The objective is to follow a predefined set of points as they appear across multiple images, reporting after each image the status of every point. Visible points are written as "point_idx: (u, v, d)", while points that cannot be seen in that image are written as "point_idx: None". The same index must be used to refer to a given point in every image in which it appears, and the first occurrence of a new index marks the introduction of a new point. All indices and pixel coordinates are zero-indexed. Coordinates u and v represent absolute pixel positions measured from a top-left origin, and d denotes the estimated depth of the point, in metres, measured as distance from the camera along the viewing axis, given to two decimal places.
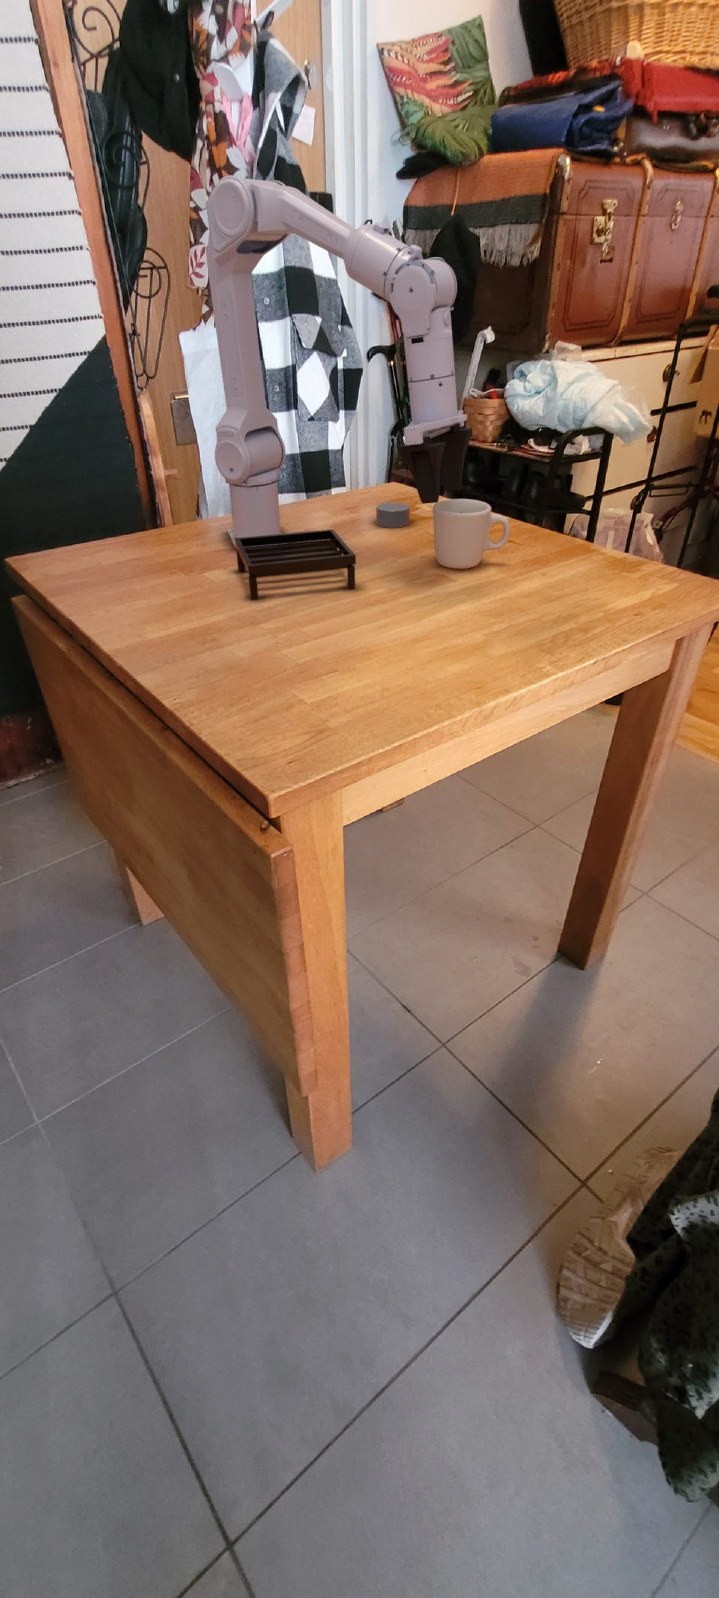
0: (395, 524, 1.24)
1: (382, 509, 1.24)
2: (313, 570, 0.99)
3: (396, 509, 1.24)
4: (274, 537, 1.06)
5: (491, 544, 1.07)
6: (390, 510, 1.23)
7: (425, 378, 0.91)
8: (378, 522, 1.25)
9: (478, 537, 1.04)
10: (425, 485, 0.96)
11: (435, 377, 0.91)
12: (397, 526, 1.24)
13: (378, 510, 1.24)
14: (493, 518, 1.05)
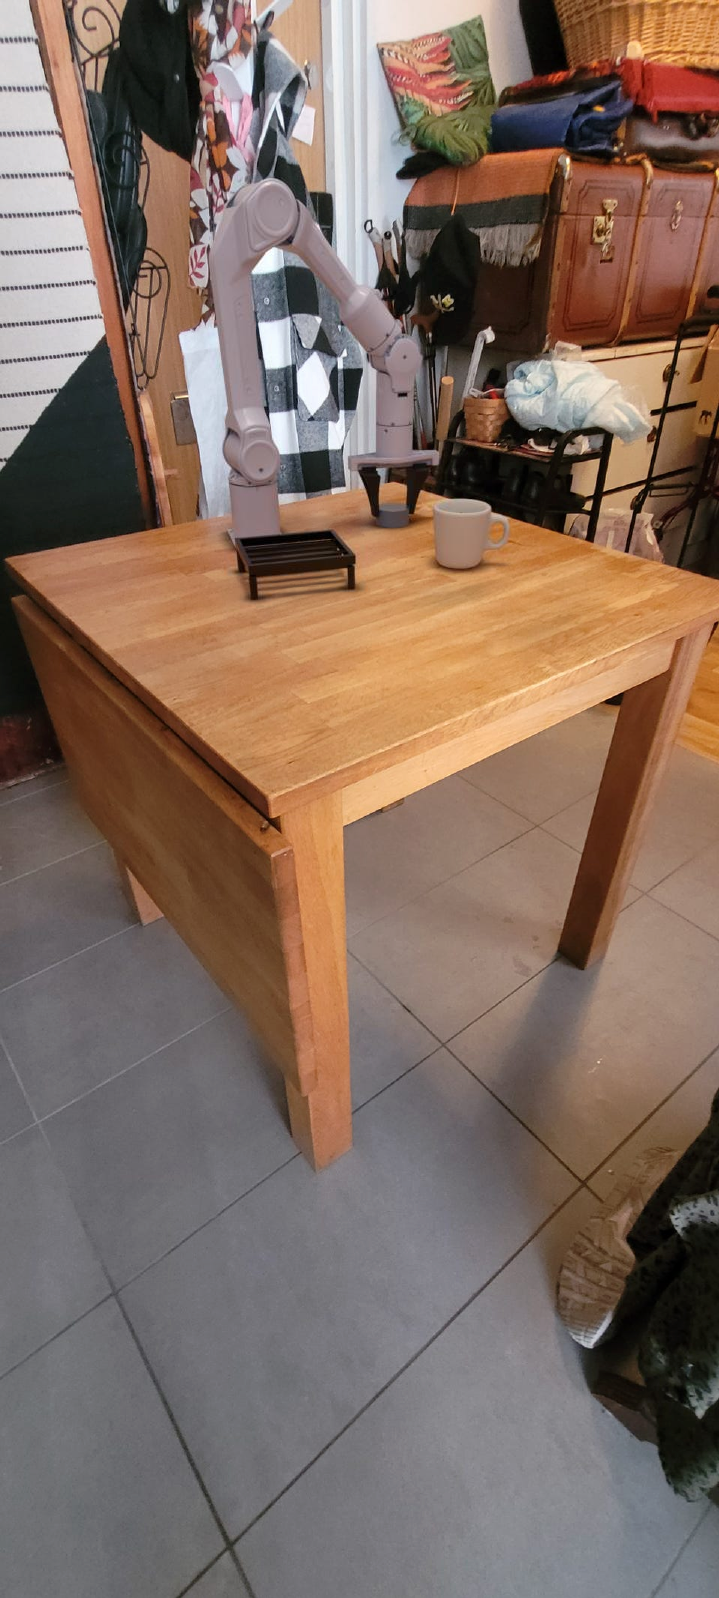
0: (395, 524, 1.24)
1: (382, 509, 1.24)
2: (313, 570, 0.99)
3: (396, 509, 1.24)
4: (274, 537, 1.06)
5: (491, 544, 1.07)
6: (390, 510, 1.23)
7: (406, 424, 1.16)
8: (378, 522, 1.25)
9: (478, 537, 1.04)
10: None
11: None
12: (397, 526, 1.24)
13: None
14: (493, 518, 1.05)
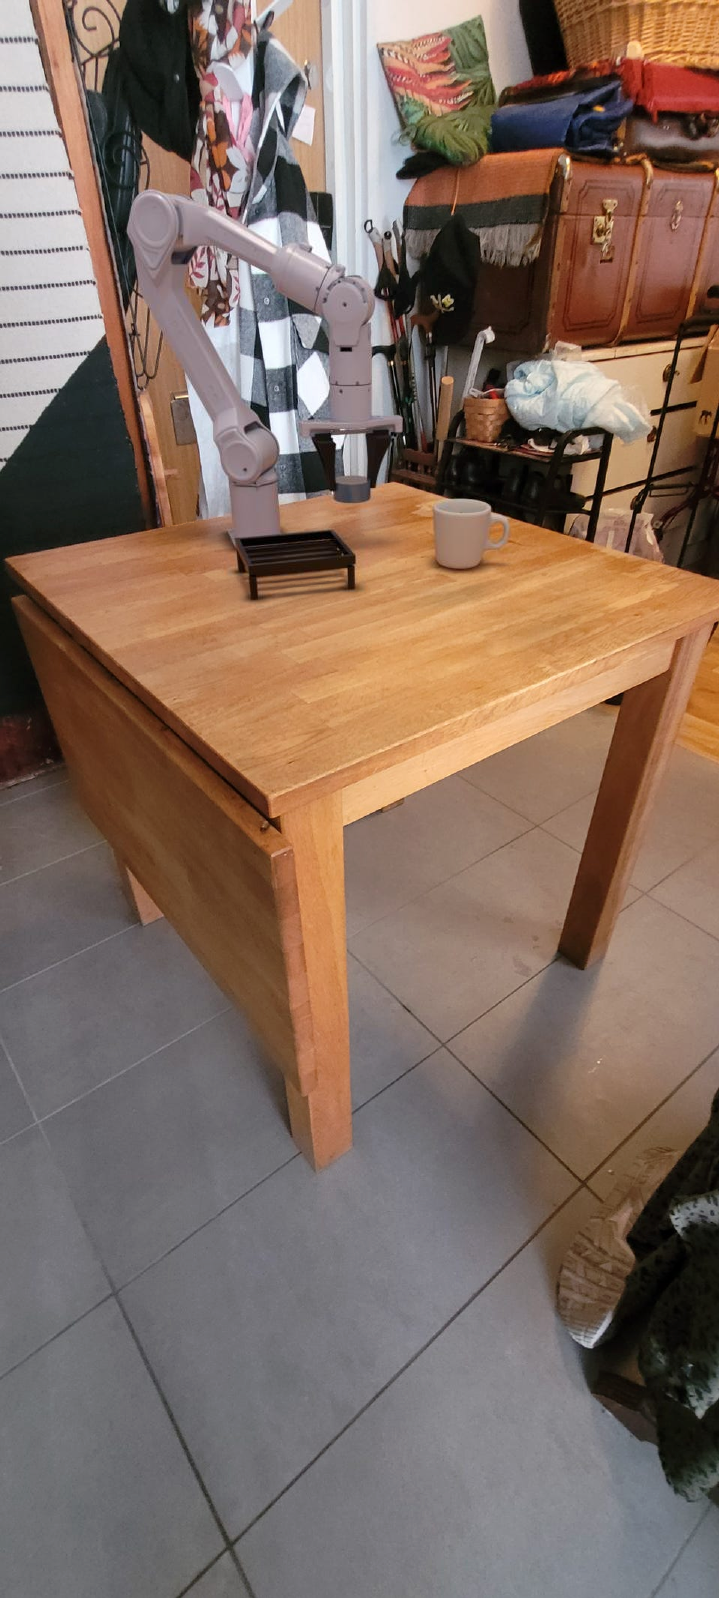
0: (354, 499, 1.10)
1: (339, 482, 1.10)
2: (313, 570, 0.99)
3: (355, 482, 1.10)
4: (274, 537, 1.06)
5: (491, 544, 1.07)
6: (348, 483, 1.09)
7: (351, 384, 1.02)
8: (335, 497, 1.11)
9: (478, 537, 1.04)
10: None
11: None
12: (356, 501, 1.10)
13: None
14: (493, 518, 1.05)
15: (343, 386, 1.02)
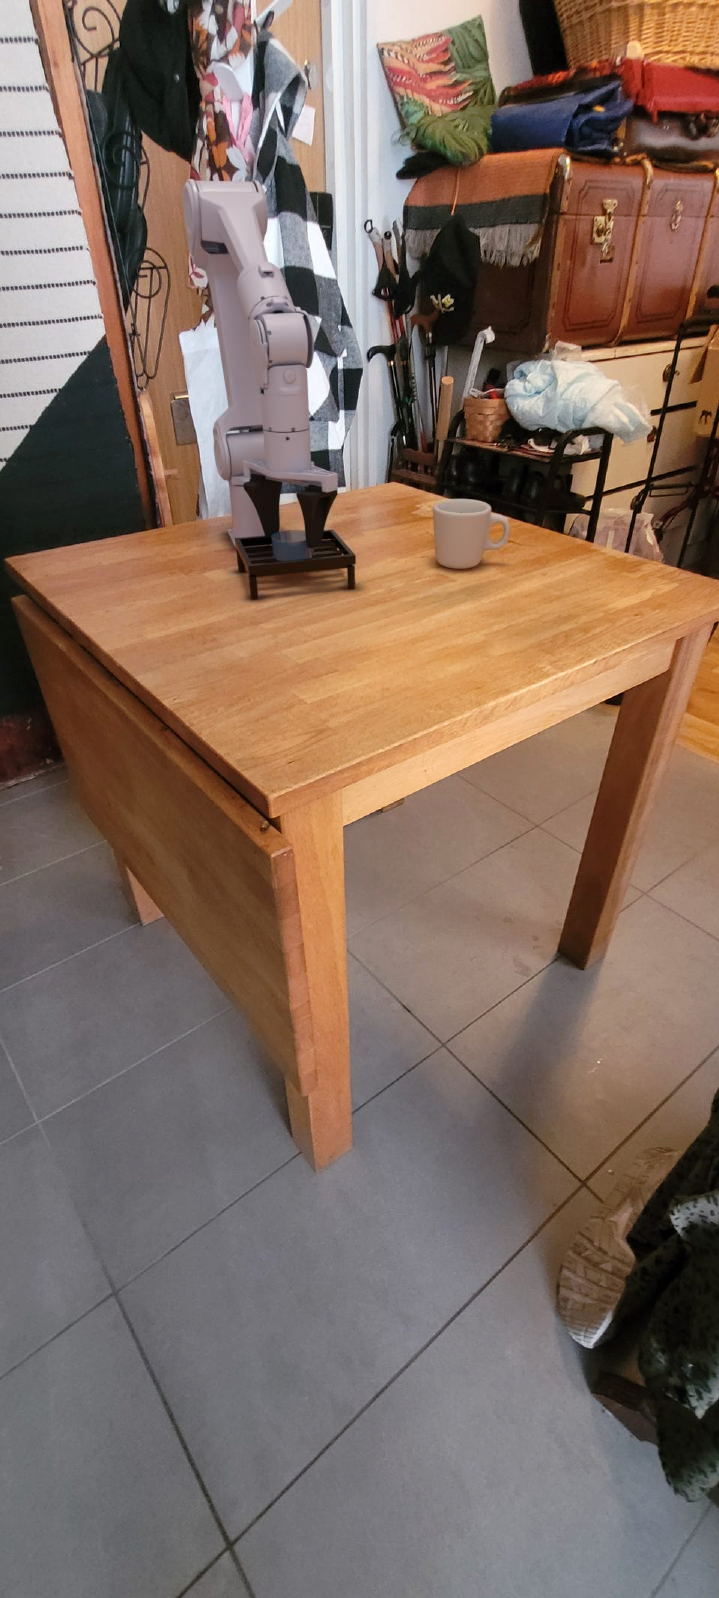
0: (276, 556, 1.01)
1: (275, 534, 1.02)
2: (313, 570, 0.99)
3: (283, 539, 1.00)
4: None
5: (491, 544, 1.07)
6: (275, 537, 1.01)
7: (265, 429, 0.92)
8: None
9: (478, 537, 1.04)
10: (315, 529, 0.98)
11: (308, 427, 0.94)
12: (278, 559, 1.01)
13: None
14: (493, 518, 1.05)
15: (263, 430, 0.93)
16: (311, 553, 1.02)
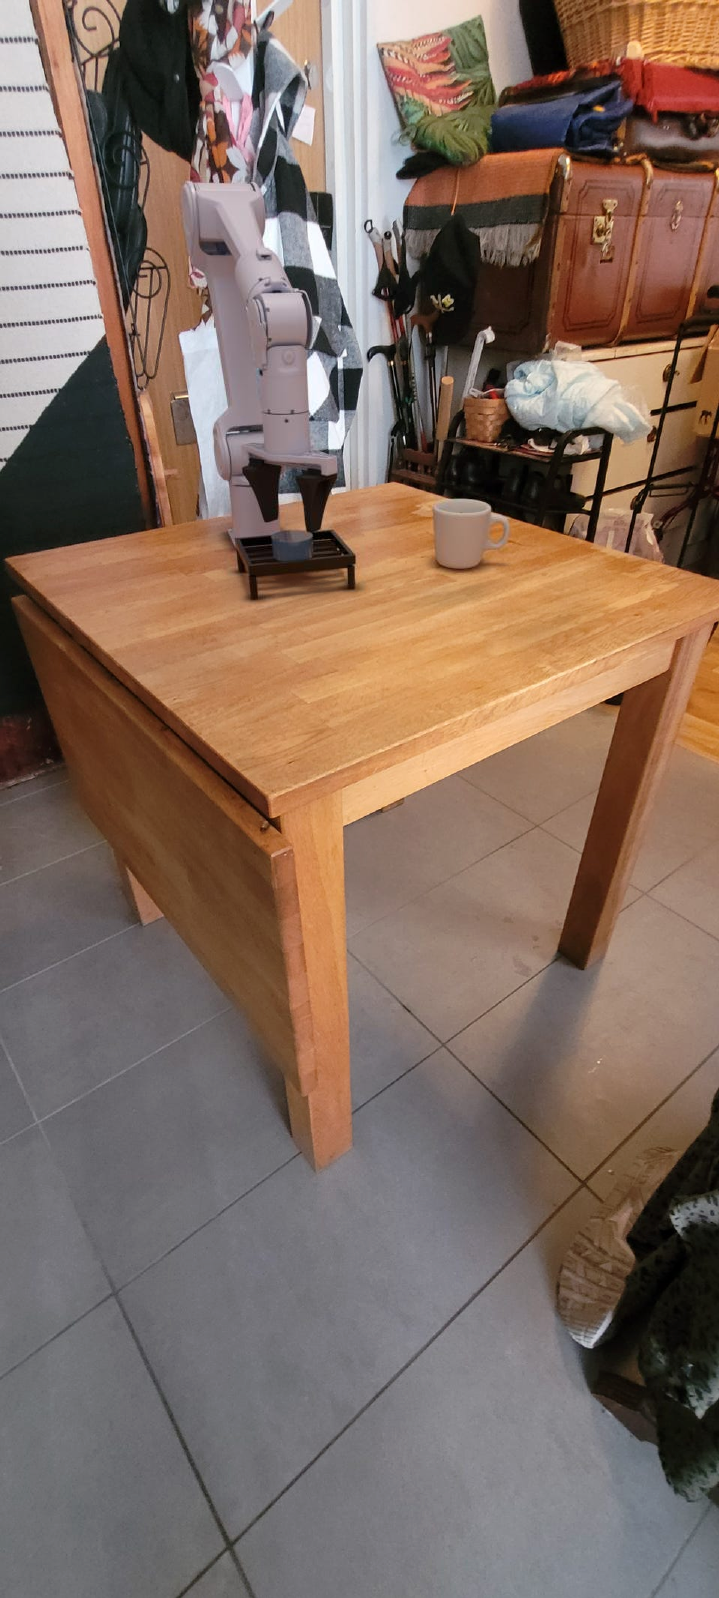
0: (276, 556, 1.01)
1: (275, 534, 1.02)
2: (313, 570, 0.99)
3: (283, 539, 1.00)
4: None
5: (491, 544, 1.07)
6: (275, 537, 1.01)
7: (264, 411, 0.91)
8: None
9: (478, 537, 1.04)
10: (315, 514, 0.97)
11: (307, 409, 0.93)
12: (278, 559, 1.01)
13: None
14: (493, 518, 1.05)
15: (262, 412, 0.92)
16: (311, 553, 1.02)
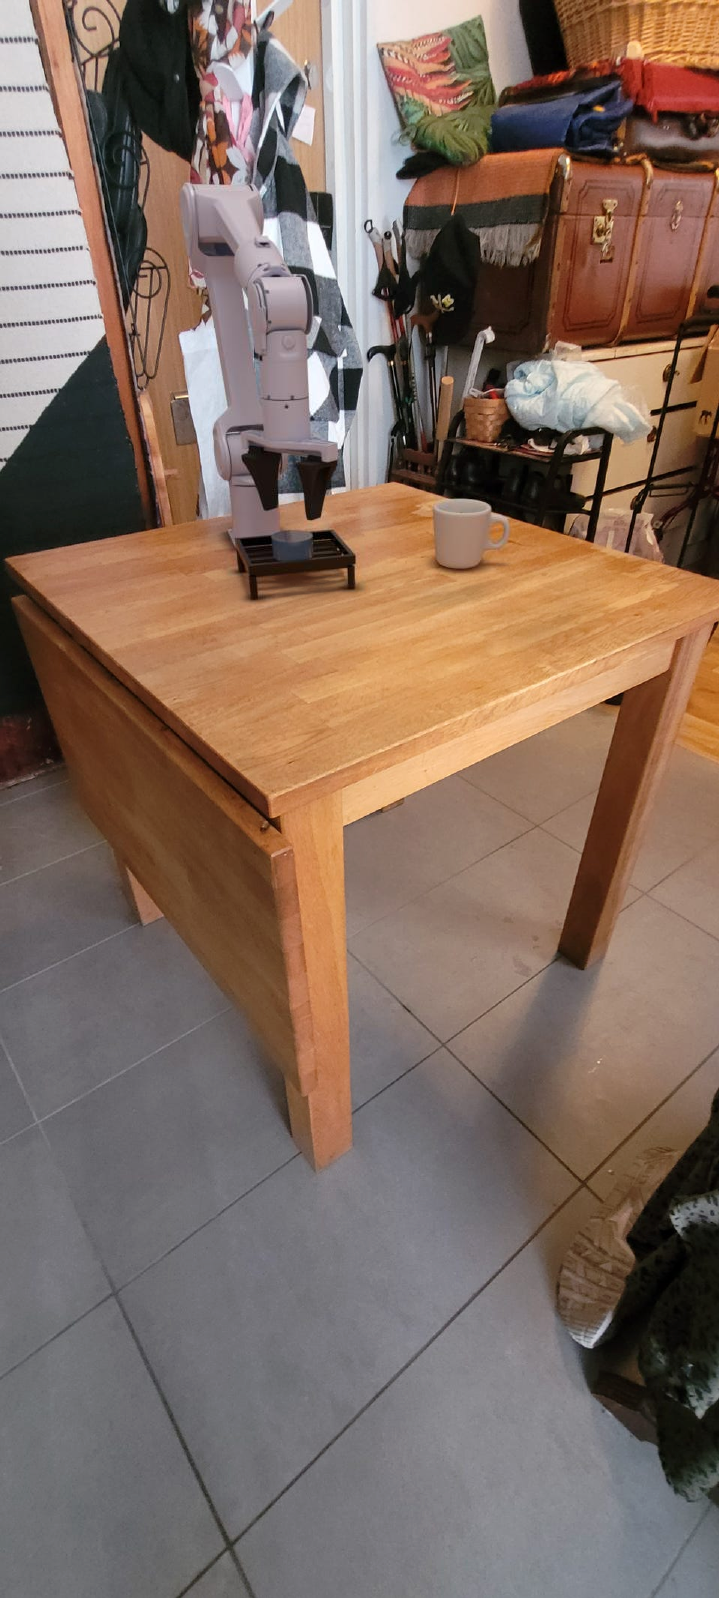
0: (276, 556, 1.01)
1: (275, 534, 1.02)
2: (313, 570, 0.99)
3: (283, 539, 1.00)
4: None
5: (491, 544, 1.07)
6: (275, 537, 1.01)
7: (264, 397, 0.91)
8: None
9: (478, 537, 1.04)
10: (315, 501, 0.96)
11: (308, 395, 0.92)
12: (278, 559, 1.01)
13: None
14: (493, 518, 1.05)
15: (261, 398, 0.91)
16: (311, 553, 1.02)
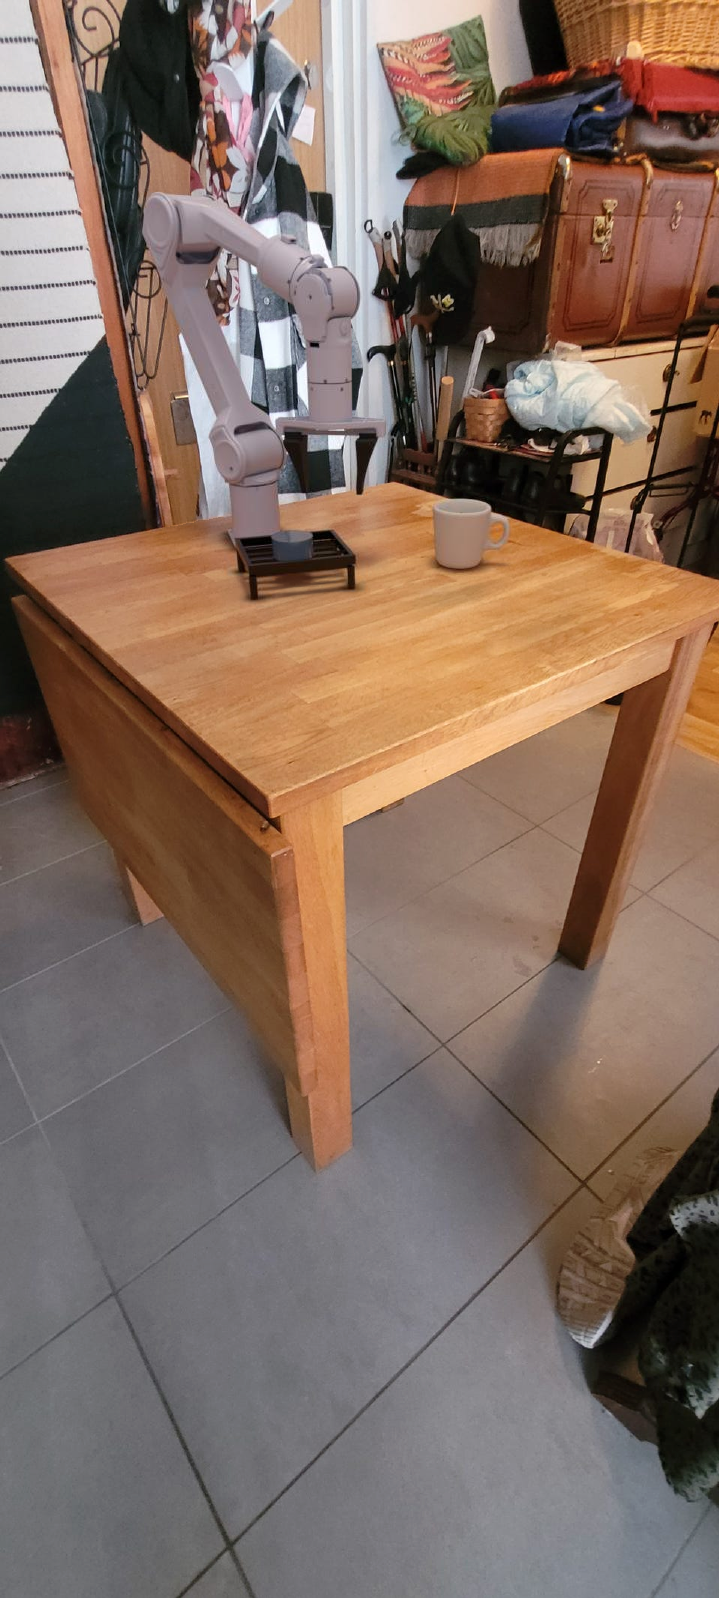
0: (276, 556, 1.01)
1: (275, 534, 1.02)
2: (313, 570, 0.99)
3: (283, 539, 1.00)
4: None
5: (491, 544, 1.07)
6: (275, 537, 1.01)
7: (319, 382, 0.96)
8: None
9: (478, 537, 1.04)
10: None
11: None
12: (278, 559, 1.01)
13: None
14: (493, 518, 1.05)
15: (313, 384, 0.97)
16: (311, 553, 1.02)
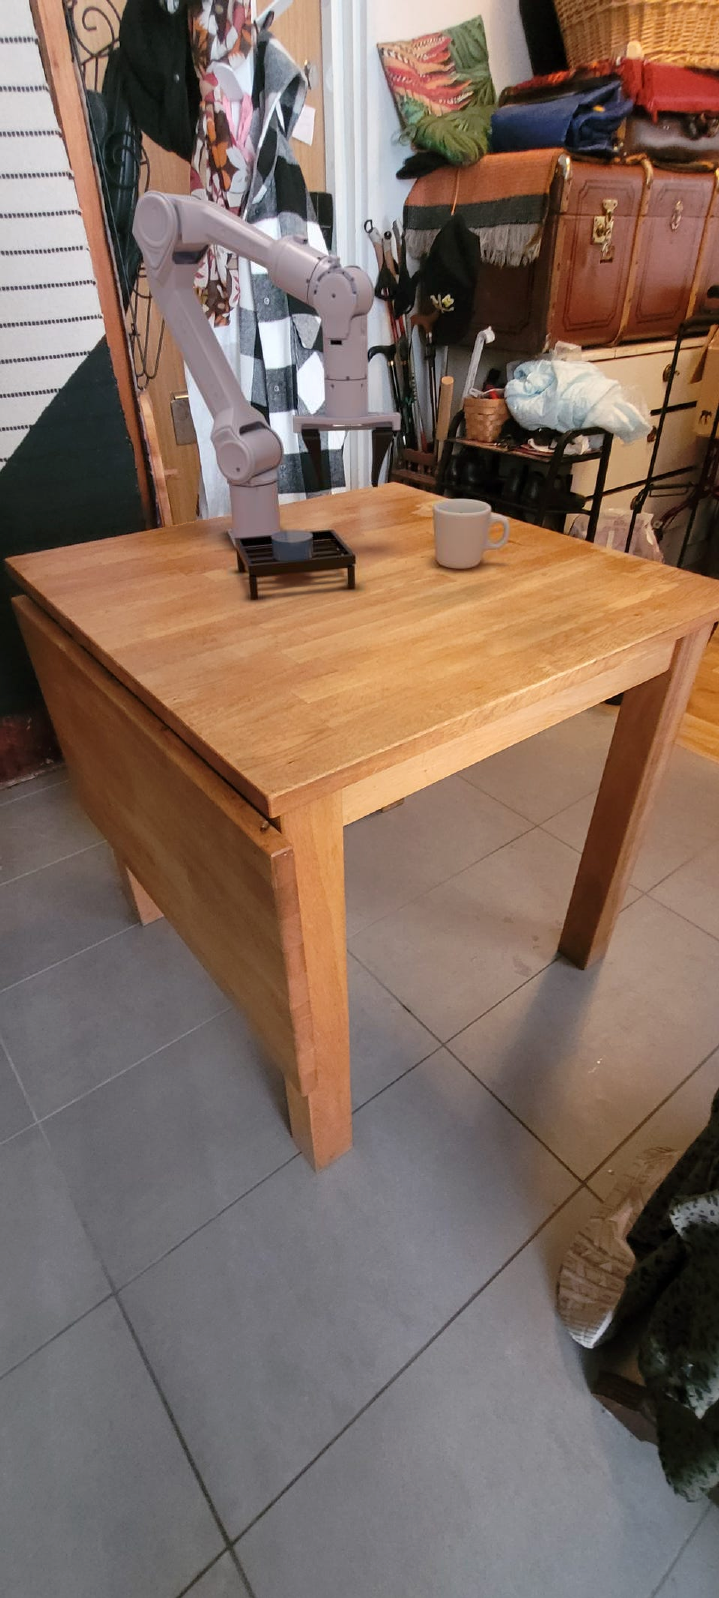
0: (276, 556, 1.01)
1: (275, 534, 1.02)
2: (313, 570, 0.99)
3: (283, 539, 1.00)
4: None
5: (491, 544, 1.07)
6: (275, 537, 1.01)
7: (341, 378, 0.98)
8: None
9: (478, 537, 1.04)
10: None
11: None
12: (278, 559, 1.01)
13: None
14: (493, 518, 1.05)
15: (334, 380, 0.99)
16: (311, 553, 1.02)
